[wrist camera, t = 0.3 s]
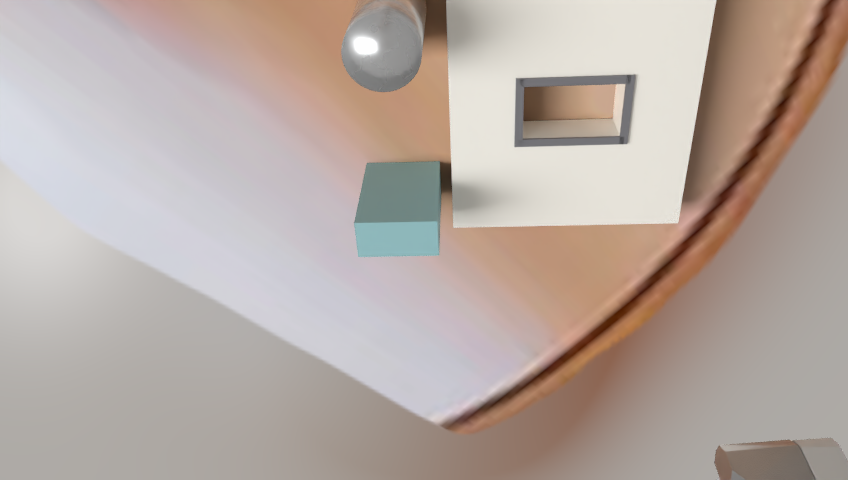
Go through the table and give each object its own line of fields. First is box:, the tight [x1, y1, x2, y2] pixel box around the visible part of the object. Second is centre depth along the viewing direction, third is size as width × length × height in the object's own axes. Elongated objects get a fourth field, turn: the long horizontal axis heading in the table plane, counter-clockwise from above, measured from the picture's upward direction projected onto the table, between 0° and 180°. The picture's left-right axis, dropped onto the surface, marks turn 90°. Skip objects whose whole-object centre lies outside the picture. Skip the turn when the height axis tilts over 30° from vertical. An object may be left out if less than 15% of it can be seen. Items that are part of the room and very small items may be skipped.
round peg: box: [341, 0, 427, 92], centre depth 50 cm, size 5×5×9 cm
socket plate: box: [446, 0, 716, 228], centre depth 55 cm, size 20×18×3 cm
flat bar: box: [354, 161, 441, 257], centre depth 58 cm, size 3×6×9 cm, turn 93°
